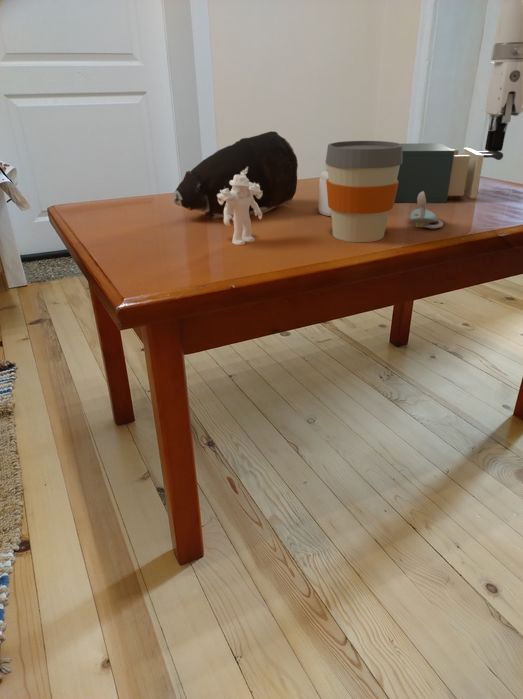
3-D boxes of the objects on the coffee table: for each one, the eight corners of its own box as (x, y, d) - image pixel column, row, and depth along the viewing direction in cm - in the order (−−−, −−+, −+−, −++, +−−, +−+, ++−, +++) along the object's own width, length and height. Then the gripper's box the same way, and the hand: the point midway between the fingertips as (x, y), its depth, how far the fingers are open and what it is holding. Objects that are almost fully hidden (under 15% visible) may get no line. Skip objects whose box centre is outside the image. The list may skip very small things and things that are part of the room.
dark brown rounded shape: (150, 156, 99) (256, 122, 108) (167, 227, 109) (263, 191, 118) (184, 176, 89) (298, 137, 98) (200, 252, 99) (302, 211, 108)
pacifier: (440, 222, 98) (408, 220, 99) (447, 188, 95) (413, 187, 96) (444, 232, 91) (410, 230, 92) (451, 196, 88) (415, 194, 89)
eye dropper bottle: (318, 217, 102) (320, 153, 97) (318, 210, 107) (320, 150, 102) (339, 217, 102) (343, 153, 96) (339, 210, 107) (342, 150, 101)
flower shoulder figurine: (253, 234, 92) (251, 164, 86) (269, 238, 89) (268, 166, 84) (215, 245, 86) (211, 171, 81) (230, 249, 84) (227, 173, 78)
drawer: (484, 187, 122) (491, 147, 117) (500, 198, 111) (508, 154, 106) (400, 187, 124) (404, 147, 119) (408, 197, 113) (413, 154, 108)
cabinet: (434, 190, 124) (441, 143, 119) (446, 202, 112) (454, 150, 107) (368, 190, 125) (372, 143, 120) (373, 202, 113) (378, 151, 108)
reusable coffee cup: (308, 232, 92) (311, 144, 85) (363, 222, 98) (369, 139, 91) (352, 249, 83) (358, 151, 76) (409, 238, 88) (421, 145, 81)
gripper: (545, 52, 97) (522, 155, 105) (518, 55, 110) (500, 146, 118) (504, 53, 97) (485, 155, 106) (482, 56, 110) (467, 146, 119)
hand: (493, 150), depth 112 cm, fingers closed
